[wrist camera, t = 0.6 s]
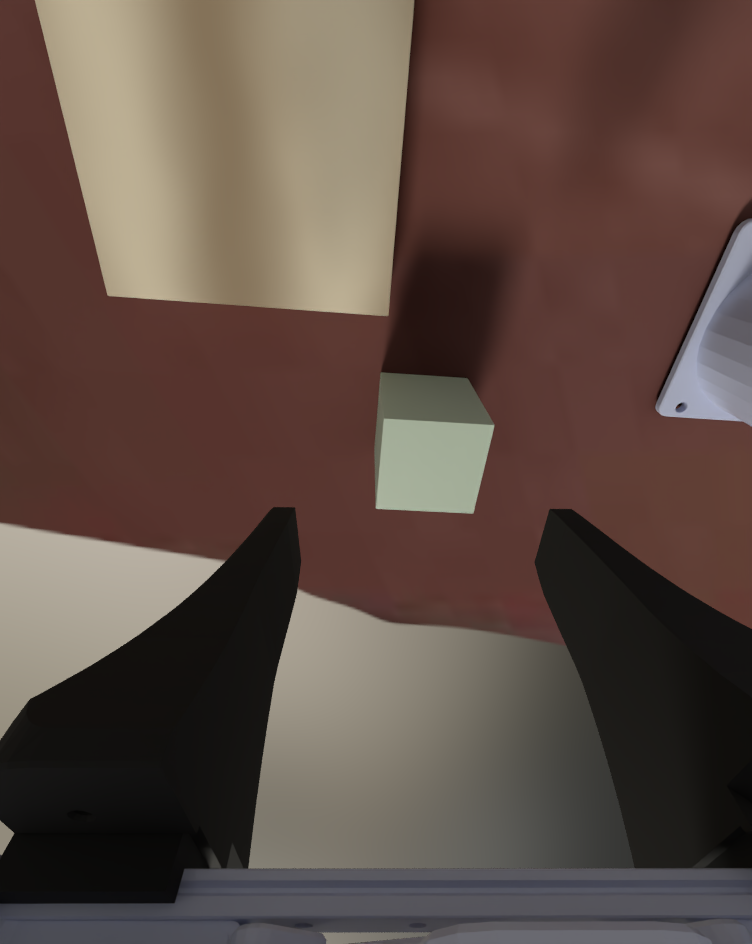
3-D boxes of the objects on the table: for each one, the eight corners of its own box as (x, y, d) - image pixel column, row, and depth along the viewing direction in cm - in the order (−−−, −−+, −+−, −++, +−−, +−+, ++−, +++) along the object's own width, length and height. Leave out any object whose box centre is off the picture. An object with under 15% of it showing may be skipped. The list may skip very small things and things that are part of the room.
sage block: (467, 377, 20) (494, 425, 15) (452, 453, 22) (473, 513, 17) (380, 372, 19) (383, 418, 15) (374, 449, 21) (376, 508, 17)
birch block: (413, -51, 13) (424, -116, 10) (385, 300, 18) (388, 316, 16) (72, -89, 12) (-7, -166, 10) (145, 282, 18) (107, 295, 15)
